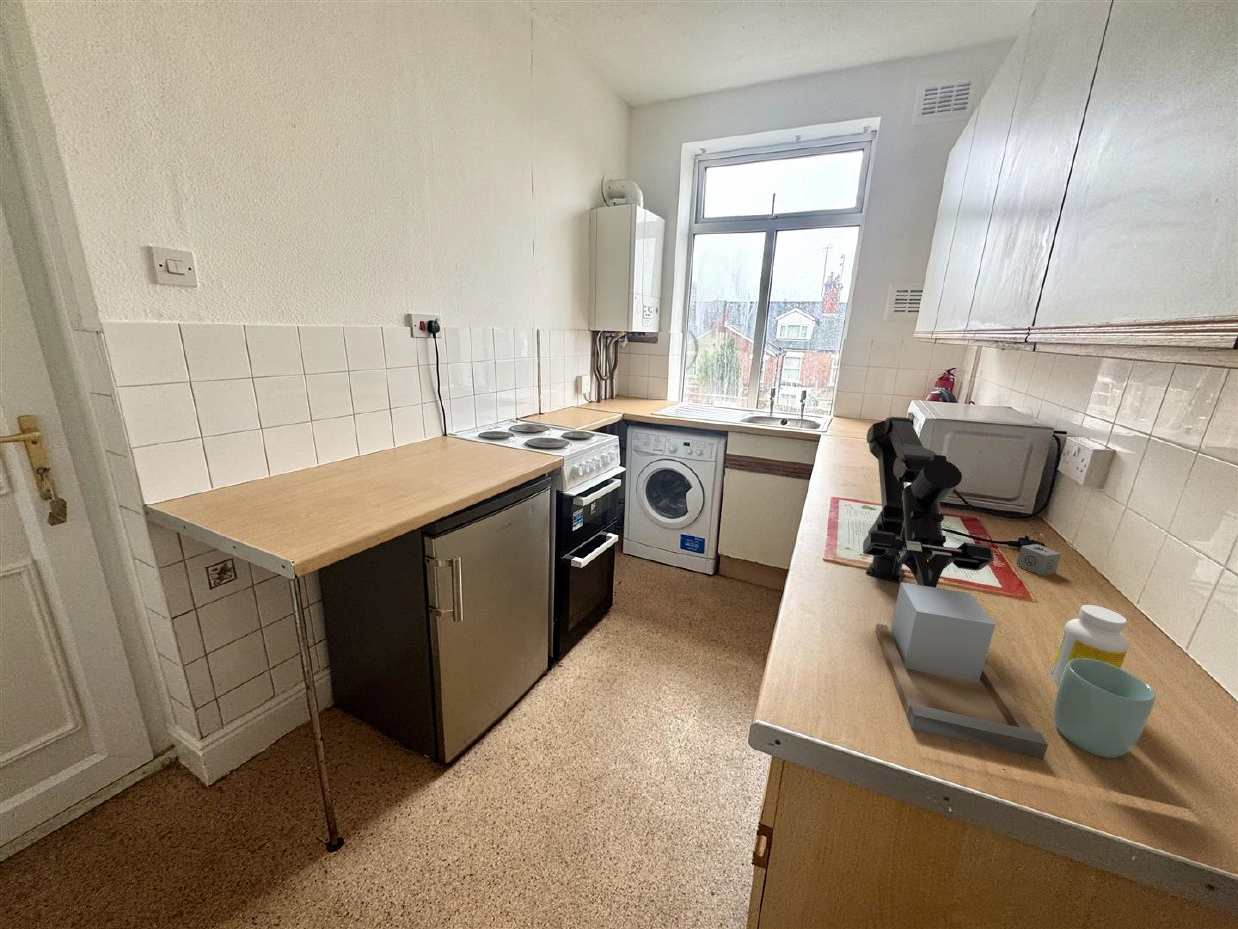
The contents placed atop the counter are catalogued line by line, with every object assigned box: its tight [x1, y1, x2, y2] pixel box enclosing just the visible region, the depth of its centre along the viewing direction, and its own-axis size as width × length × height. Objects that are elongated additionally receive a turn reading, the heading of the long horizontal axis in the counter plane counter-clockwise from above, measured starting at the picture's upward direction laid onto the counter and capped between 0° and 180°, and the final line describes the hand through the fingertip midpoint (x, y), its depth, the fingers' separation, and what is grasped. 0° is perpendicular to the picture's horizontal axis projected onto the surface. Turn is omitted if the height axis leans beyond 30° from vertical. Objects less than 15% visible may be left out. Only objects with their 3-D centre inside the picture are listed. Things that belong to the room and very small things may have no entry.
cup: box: [1053, 658, 1157, 759], centre depth 60 cm, size 8×8×10 cm
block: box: [889, 581, 996, 683], centre depth 74 cm, size 9×10×10 cm
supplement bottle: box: [1049, 604, 1130, 686], centre depth 69 cm, size 7×7×13 cm
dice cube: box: [1016, 543, 1062, 576], centre depth 108 cm, size 5×5×5 cm
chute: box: [874, 623, 1049, 760], centre depth 70 cm, size 22×14×3 cm, turn 163°
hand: (928, 597), depth 79 cm, fingers closed
